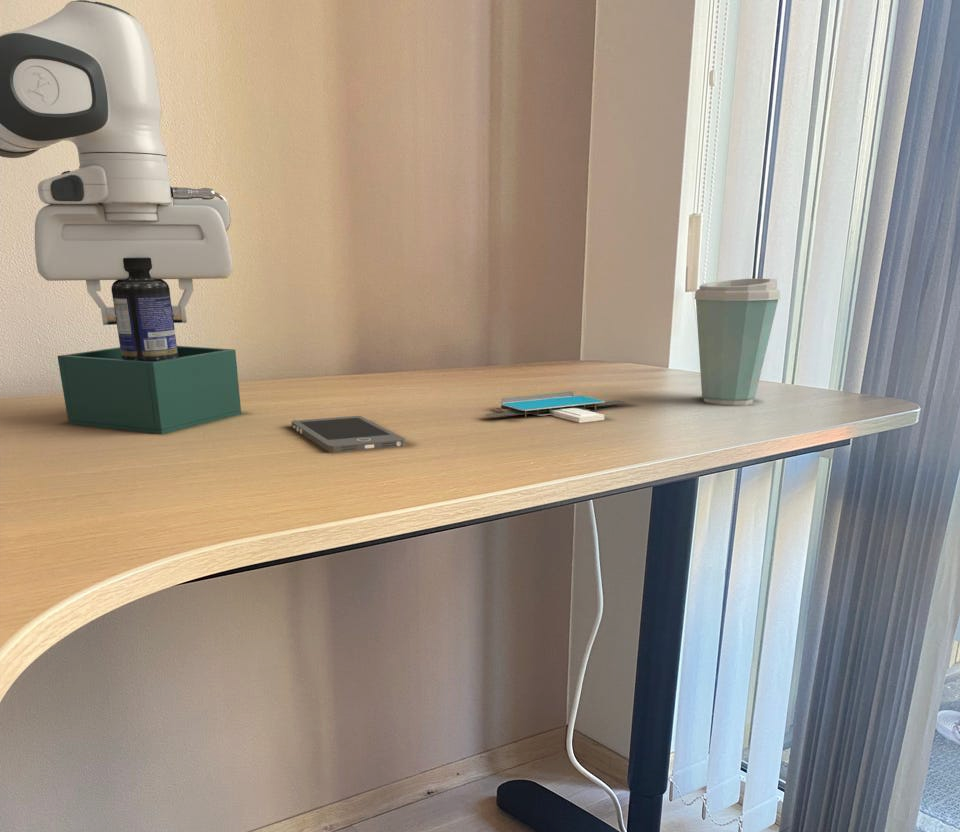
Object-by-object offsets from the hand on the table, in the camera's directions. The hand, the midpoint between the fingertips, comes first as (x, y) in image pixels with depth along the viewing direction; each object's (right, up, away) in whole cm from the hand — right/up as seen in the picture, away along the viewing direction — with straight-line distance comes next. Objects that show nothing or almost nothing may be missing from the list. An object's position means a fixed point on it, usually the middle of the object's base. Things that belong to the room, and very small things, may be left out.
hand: (144, 323), depth 107 cm
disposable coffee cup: (+69, -5, +17) cm, 72 cm away
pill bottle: (0, -4, +2) cm, 4 cm away
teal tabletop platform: (+47, -8, +8) cm, 49 cm away
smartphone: (+23, -14, -5) cm, 27 cm away
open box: (0, -10, +4) cm, 11 cm away
